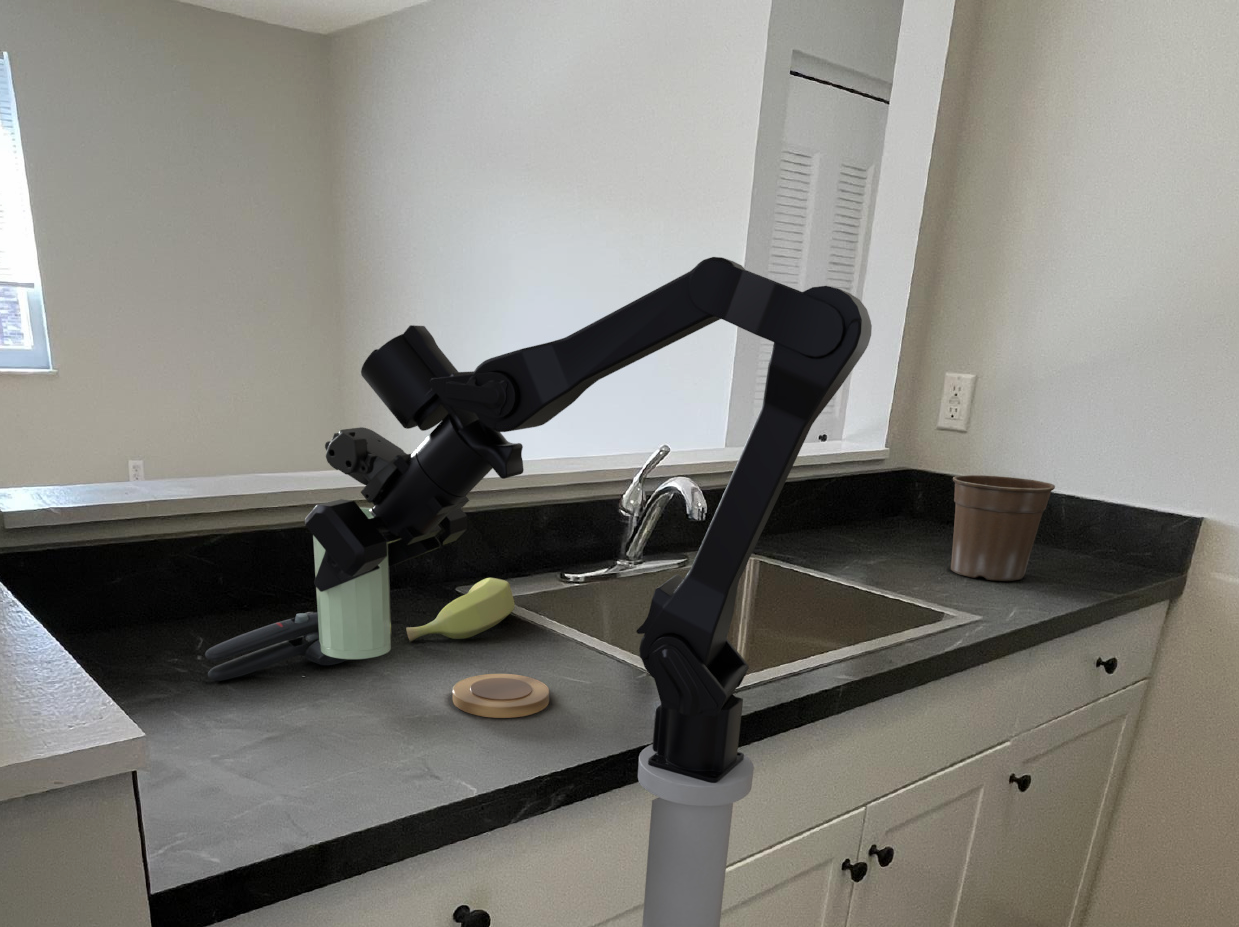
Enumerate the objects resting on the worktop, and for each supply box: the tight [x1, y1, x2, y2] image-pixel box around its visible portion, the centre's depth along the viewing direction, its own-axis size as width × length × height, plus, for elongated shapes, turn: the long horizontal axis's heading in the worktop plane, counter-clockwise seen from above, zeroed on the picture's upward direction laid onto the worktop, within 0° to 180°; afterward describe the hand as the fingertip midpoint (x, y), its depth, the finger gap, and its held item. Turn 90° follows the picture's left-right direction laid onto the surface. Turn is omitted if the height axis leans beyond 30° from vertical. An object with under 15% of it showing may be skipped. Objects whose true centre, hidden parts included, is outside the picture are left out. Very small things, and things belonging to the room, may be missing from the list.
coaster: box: [452, 673, 550, 719], centre depth 101 cm, size 10×10×1 cm
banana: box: [406, 577, 516, 642], centre depth 126 cm, size 14×6×20 cm
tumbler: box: [312, 506, 392, 660], centre depth 91 cm, size 7×7×13 cm
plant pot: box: [950, 474, 1056, 582], centre depth 168 cm, size 16×16×16 cm
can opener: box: [204, 611, 350, 682], centre depth 107 cm, size 18×7×6 cm, turn 135°
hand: (341, 579), depth 92 cm, fingers closed on tumbler, 7 cm apart
